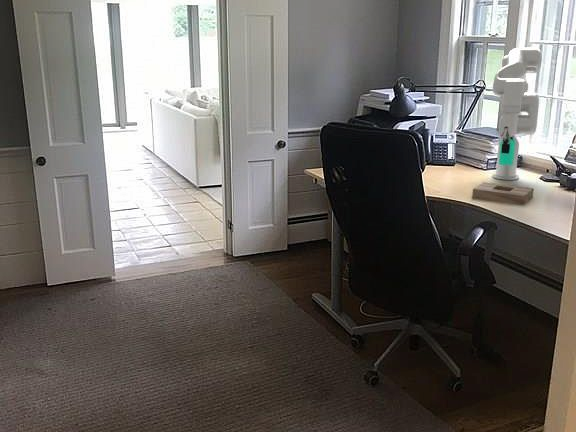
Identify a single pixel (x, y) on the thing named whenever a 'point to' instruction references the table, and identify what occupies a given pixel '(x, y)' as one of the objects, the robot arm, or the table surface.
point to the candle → (507, 158)
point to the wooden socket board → (503, 193)
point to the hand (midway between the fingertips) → (507, 151)
